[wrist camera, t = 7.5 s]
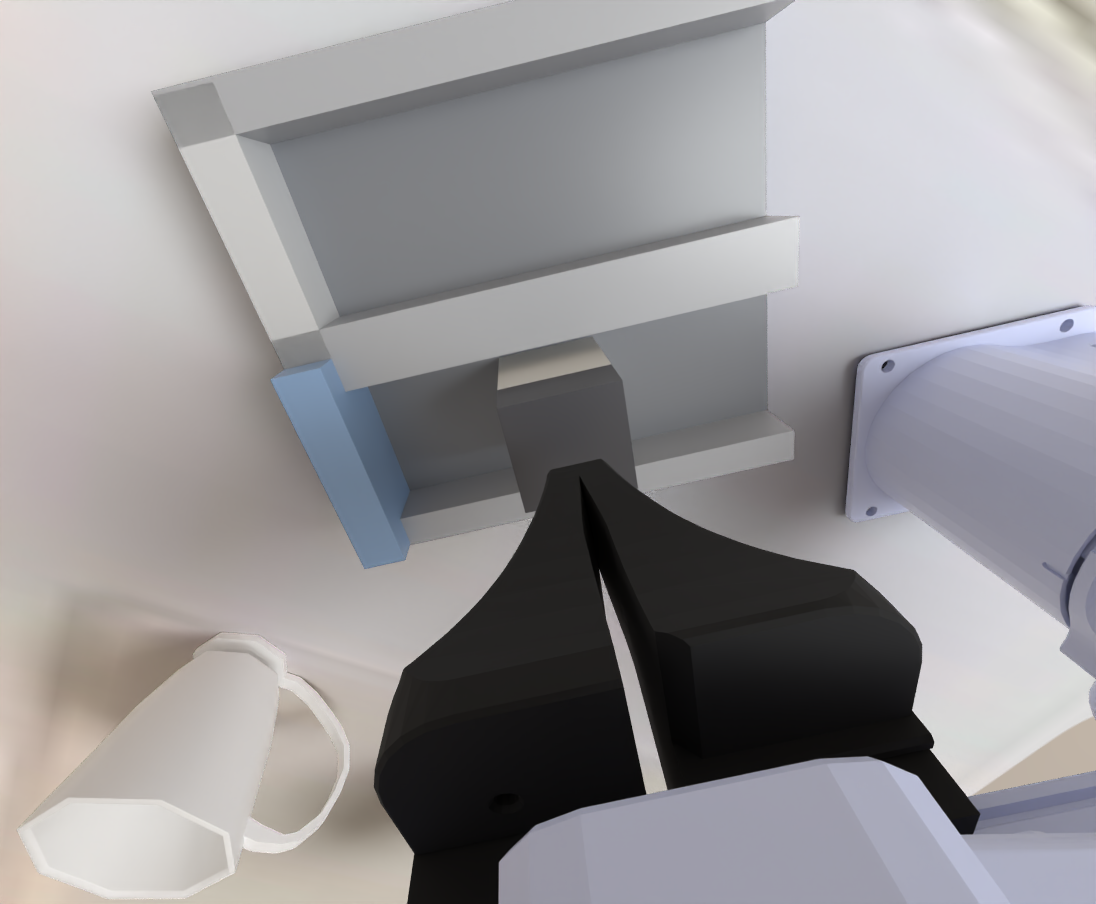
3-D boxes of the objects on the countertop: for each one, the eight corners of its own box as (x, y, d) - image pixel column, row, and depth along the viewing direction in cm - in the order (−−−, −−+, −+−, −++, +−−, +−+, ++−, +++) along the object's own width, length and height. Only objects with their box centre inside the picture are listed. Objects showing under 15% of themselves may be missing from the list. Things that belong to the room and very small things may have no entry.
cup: (190, 589, 22) (35, 774, 15) (395, 662, 25) (350, 846, 18) (147, 683, 24) (-5, 883, 17) (340, 740, 27) (279, 929, 20)
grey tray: (748, -33, 14) (833, -118, 10) (756, 433, 21) (809, 479, 17) (212, 101, 14) (113, 64, 11) (392, 515, 21) (368, 577, 17)
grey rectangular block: (591, 336, 17) (622, 380, 13) (606, 422, 19) (638, 488, 14) (498, 358, 17) (496, 408, 13) (520, 441, 19) (525, 513, 14)
